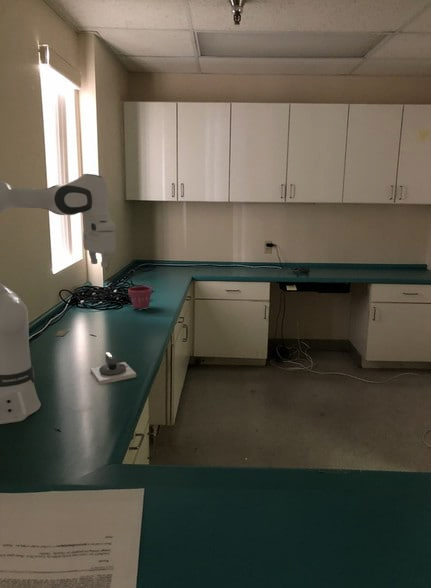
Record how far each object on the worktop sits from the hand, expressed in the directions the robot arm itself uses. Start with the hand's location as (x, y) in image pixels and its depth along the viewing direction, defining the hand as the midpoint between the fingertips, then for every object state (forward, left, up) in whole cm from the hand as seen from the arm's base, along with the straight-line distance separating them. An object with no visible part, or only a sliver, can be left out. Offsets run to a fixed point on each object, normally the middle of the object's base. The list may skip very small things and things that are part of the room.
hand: (99, 265), depth 152 cm
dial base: (+5, +11, -45) cm, 46 cm away
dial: (+5, +12, -43) cm, 45 cm away
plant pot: (+50, +105, -45) cm, 125 cm away
